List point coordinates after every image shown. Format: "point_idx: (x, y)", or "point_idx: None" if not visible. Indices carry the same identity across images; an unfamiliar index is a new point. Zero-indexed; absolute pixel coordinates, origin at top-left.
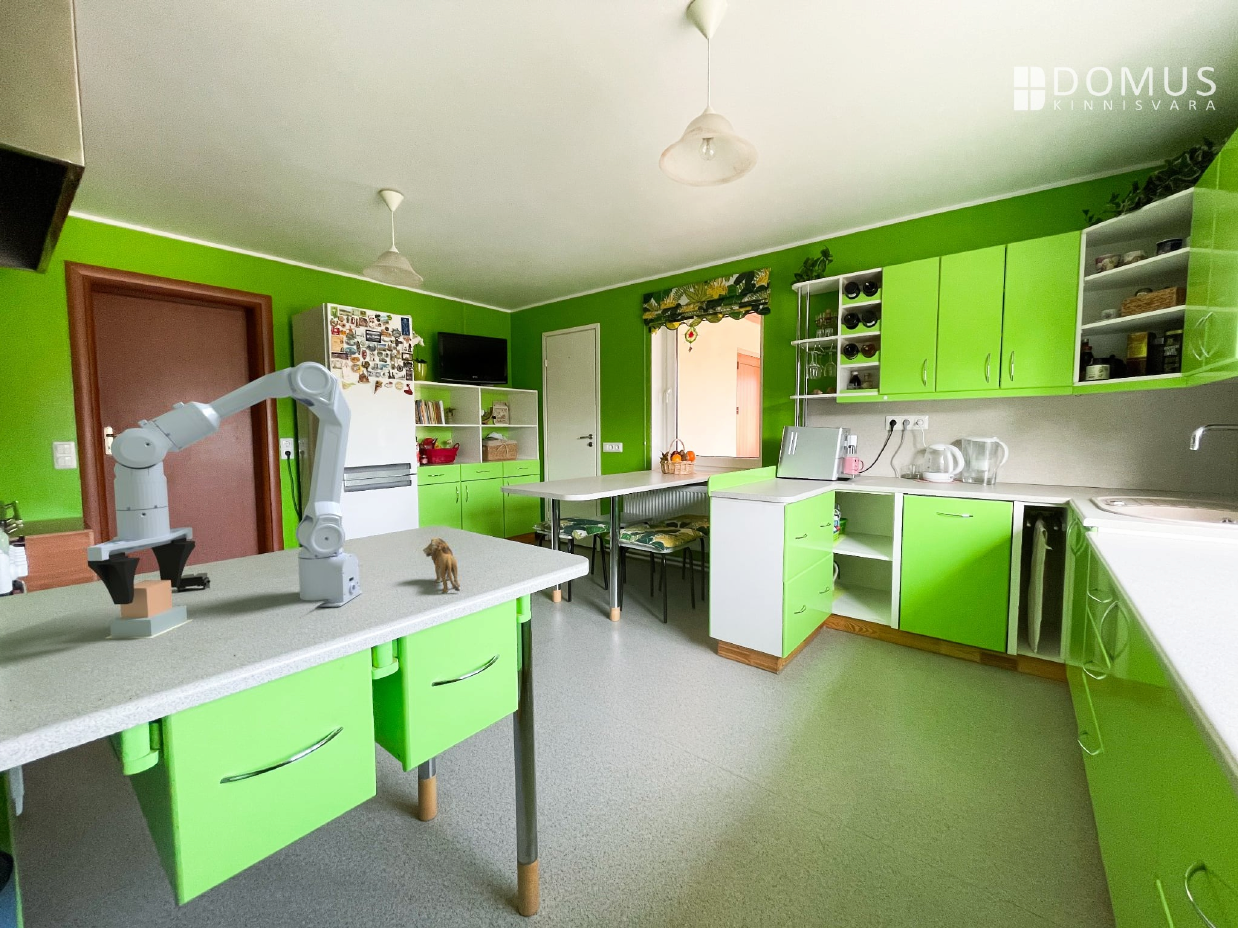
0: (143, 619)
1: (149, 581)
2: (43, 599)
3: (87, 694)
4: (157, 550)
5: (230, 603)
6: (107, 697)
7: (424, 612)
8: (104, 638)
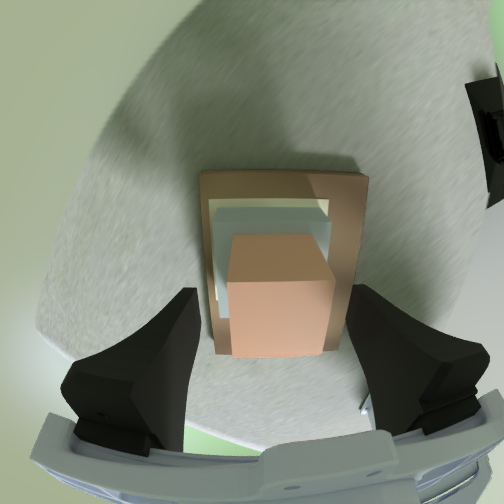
0: (221, 301)
1: (316, 307)
2: None
3: (85, 328)
4: (419, 374)
5: (444, 251)
6: (90, 350)
7: None
8: (208, 200)
